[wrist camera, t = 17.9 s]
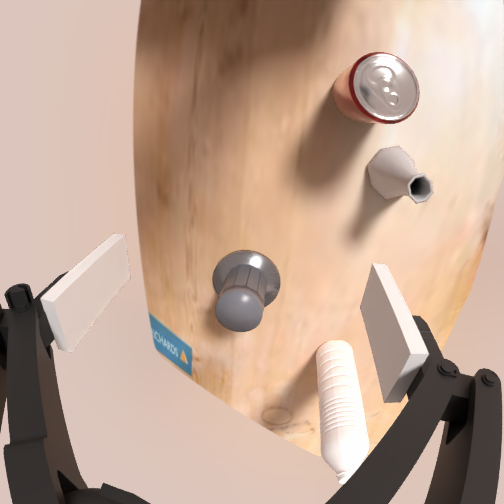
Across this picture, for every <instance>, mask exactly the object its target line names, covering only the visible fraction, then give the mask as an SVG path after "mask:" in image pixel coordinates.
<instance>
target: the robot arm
mask: <svg viewBox="0 0 504 504" xmlns="http://www.w3.org/2000/svg"><path fill="white" fill-rule="evenodd" d="M129 279H130V270H129V262H128V254H127V245H126V236H125V235H124V234H115V233H114V234H112V235H111V236H110V237H109V238H108V239H106V240H105V241H104V242H103V243H102V244H100V245H99V246H98V247H97V248H96V249H94V250H93V251H92V252H91V253H90V254H89V255H87V256H86V257H85V258H84V259H83V260H82V261H81V262H79V263H78V264H77V265H76V266H75V267H74V268H73V269H71V270H70V271H69V272H66V273H64V274H62V275H60V276H59V277H57V278H56V279H55V280H54V281H53V283H51V284H50V285H49V286H48V287H46V288H45V290H43V291H42V292H41V293H40V294H39V295H38V296H37V297H36V298H35V299H34V298H33V296H32V292H31V289H30V286H29V285H28V284H17V285H14V286H12V287H10V288H9V289H8V290H7V291H6V293H5V298H6V301H7V303H8V306H9V309H2V307H1V304H0V431H1V425H2V419H3V413H4V408H5V402H6V398H7V409H8V423H9V433H10V444H8V445H5V446H4V460H5V467H6V472H7V478H8V484H9V489H10V494H11V498H12V503H13V504H150V503H148V502H147V501H145V500H143V499H141V498H140V497H138V496H136V495H135V494H133V493H130V492H127V491H124V490H121V489H118V488H116V487H113V486H110V485H108V484H105V483H103V484H102V487H101V489H99V488H88V487H87V485H86V484H85V482H84V480H83V479H82V477H81V475H80V472H79V469H78V466H77V463H76V460H75V457H74V453H73V450H72V446H71V443H70V439H69V435H68V431H67V427H66V423H65V419H64V414H63V410H62V405H61V400H60V395H59V389H58V384H57V378H56V372H55V365H54V358H53V350H52V347H51V345H50V344H51V342H52V341H53V340H54V339H55V341H56V344H57V346H58V349H60V350H63V351H66V352H69V353H72V351H73V350H74V349H75V347H76V346H77V345H78V343H79V342H80V341H81V339H82V338H83V337H84V336H85V334H86V333H87V332H88V330H89V329H90V328H91V326H92V325H93V324H94V322H95V321H96V320H97V319H98V317H99V316H100V315H101V314H102V312H103V311H104V310H105V309H106V307H107V306H108V305H109V304H110V302H111V301H112V300H113V299H114V297H115V296H116V295H117V294H118V293H119V291H120V290H121V289H122V288H123V286H124V285H125V284H126V283H127V282H128V281H129ZM360 309H361V313H362V316H363V320H364V323H365V327H366V331H367V334H368V338H369V342H370V346H371V350H372V354H373V358H374V362H375V366H376V370H377V374H378V378H379V383H380V387H381V391H382V396H383V401H384V403H393V402H401V401H402V399H403V398H404V396H405V395H406V393H407V396H408V399H409V401H408V403H407V404H406V406H405V407H404V409H403V410H402V412H401V413H400V415H399V416H398V417H397V419H396V420H395V422H394V423H393V424H392V426H391V427H390V429H389V430H388V431H387V433H386V434H385V435H384V437H383V438H382V439H381V441H380V442H379V443H378V445H377V446H376V447H375V448H374V450H373V451H372V452H371V453H370V455H369V456H368V457H367V458H366V460H365V461H364V462H363V463H362V464H361V465H360V467H359V468H358V469H357V470H356V471H355V472H354V474H353V475H352V476H351V477H350V478H349V479H348V480H347V481H346V483H345V484H344V485H343V486H342V487H341V488H340V489H339V490H338V491H337V492H336V494H334V495H333V497H331V499H329V500H328V502H326V503H325V504H388V503H389V502H390V500H391V499H392V498H393V496H394V495H395V494H396V492H397V491H398V489H399V487H400V486H401V485H402V483H403V482H404V481H405V479H406V477H407V476H408V475H409V473H410V471H411V470H412V468H413V466H414V465H415V464H416V462H417V460H418V459H419V457H420V455H421V453H422V452H423V450H424V448H425V447H426V445H427V443H428V441H429V440H430V438H431V436H432V434H433V432H434V430H435V429H436V426H437V425H438V423H439V421H440V420H442V421H445V425H444V430H443V435H442V440H441V445H440V449H439V454H438V458H437V462H436V466H435V470H434V473H433V478H432V481H431V484H430V488H429V491H428V494H427V498H426V500H425V503H424V504H495V499H496V493H497V486H498V479H499V470H500V459H501V443H502V392H501V382H500V379H499V377H498V376H497V374H496V373H494V372H493V371H491V370H489V369H485V368H483V369H480V370H478V371H477V373H476V374H475V376H474V377H473V376H468V375H465V374H461V373H460V372H459V369H458V367H457V366H456V365H455V364H454V363H453V362H451V361H450V360H447V359H444V358H443V356H442V353H441V351H440V349H439V347H438V345H437V343H436V341H435V339H434V337H433V335H432V332H431V330H430V328H429V326H428V324H427V323H426V322H425V321H424V320H423V319H422V318H421V317H420V316H412V315H411V313H410V311H409V309H408V307H407V305H406V303H405V301H404V299H403V297H402V295H401V293H400V291H399V289H398V287H397V285H396V283H395V281H394V279H393V277H392V275H391V273H390V271H389V269H388V267H387V266H386V265H384V264H376V263H372V267H371V271H370V274H369V278H368V282H367V285H366V289H365V292H364V295H363V299H362V302H361V305H360Z"/></svg>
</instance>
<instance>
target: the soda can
mask: <svg viewBox="0 0 504 504" xmlns="http://www.w3.org/2000/svg"><path fill="white" fill-rule="evenodd" d="M419 93H420V92H419V85H418V81H417V78H416V76H415V74H414V72H413V71H412V70H411V68H410V67H409V66H408V65H407V64H406V63H405V62H404V61H403V60H401V59H400V58H398V57H396V56H394V55H392V54H389V53H384V52H374V53H369V54H367V55H364V56H363V57H361V58H360V59H358V60H357V61H356V62H355V63H353V64H352V65H351V66H350V67H349V68H347V69H346V70H345V71H344V72H343V73H341V74H340V75H339V76H338V78H337V79H336V81H335V83H334V86H333V99H334V102H335V105H336V106H337V108H338V110H339V111H340V112H341V113H342V114H343V115H344V116H345V117H347V118H349V119H350V120H353V121H356V122H364V123H380V124H395V123H399V122H402V121H404V120H406V119H407V118H408V117H410V116H411V114H412V113H413V112H414V111H415V109H416V107H417V105H418V101H419Z"/></svg>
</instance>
